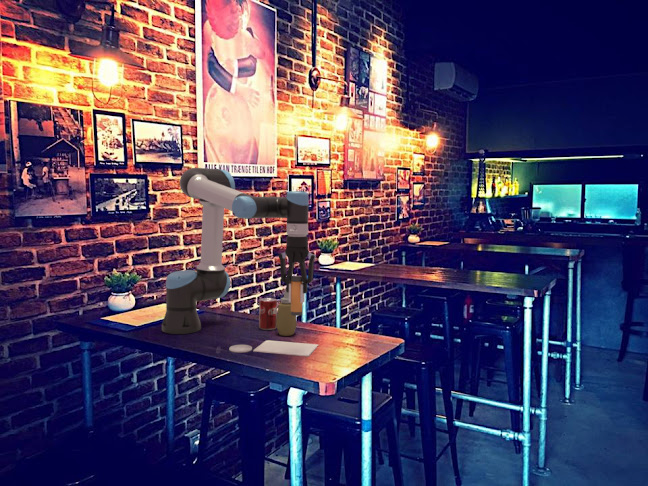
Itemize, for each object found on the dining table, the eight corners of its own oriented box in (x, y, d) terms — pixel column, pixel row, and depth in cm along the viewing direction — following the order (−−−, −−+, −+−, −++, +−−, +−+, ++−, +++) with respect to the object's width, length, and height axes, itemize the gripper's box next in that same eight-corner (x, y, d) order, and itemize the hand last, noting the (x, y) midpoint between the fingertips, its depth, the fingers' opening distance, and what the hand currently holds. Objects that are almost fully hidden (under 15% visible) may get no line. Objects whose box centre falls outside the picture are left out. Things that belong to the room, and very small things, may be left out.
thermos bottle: (289, 315, 188) (289, 277, 187) (292, 312, 192) (292, 275, 191) (300, 316, 187) (300, 277, 186) (303, 313, 191) (304, 276, 190)
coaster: (225, 351, 186) (225, 349, 186) (234, 345, 194) (234, 343, 194) (247, 353, 184) (247, 351, 184) (255, 347, 192) (255, 345, 192)
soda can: (278, 326, 224) (278, 298, 223) (275, 330, 216) (275, 301, 215) (261, 325, 224) (261, 297, 223) (257, 330, 217) (257, 300, 216)
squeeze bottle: (300, 333, 213) (300, 288, 212) (290, 338, 206) (291, 291, 204) (282, 330, 217) (282, 286, 215) (272, 335, 209) (272, 289, 208)
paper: (253, 351, 187) (253, 350, 187) (266, 341, 200) (266, 340, 200) (308, 356, 182) (308, 355, 182) (318, 345, 196) (318, 344, 196)
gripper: (271, 235, 186) (270, 302, 187) (317, 237, 182) (316, 305, 184) (278, 234, 193) (277, 298, 195) (322, 235, 189) (322, 301, 191)
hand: (296, 301), depth 189 cm, fingers closed on thermos bottle, 3 cm apart
